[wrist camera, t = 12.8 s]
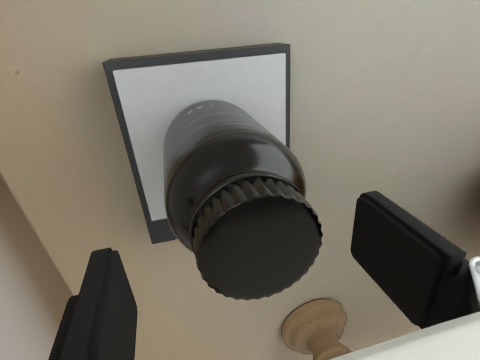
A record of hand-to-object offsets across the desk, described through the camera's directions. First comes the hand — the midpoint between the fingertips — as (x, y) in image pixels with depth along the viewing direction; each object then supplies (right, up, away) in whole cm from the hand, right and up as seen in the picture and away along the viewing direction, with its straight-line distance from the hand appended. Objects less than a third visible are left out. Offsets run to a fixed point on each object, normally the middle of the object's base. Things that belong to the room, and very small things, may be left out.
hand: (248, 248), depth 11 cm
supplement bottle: (-2, +5, +10) cm, 11 cm away
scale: (-3, +6, +13) cm, 14 cm away
